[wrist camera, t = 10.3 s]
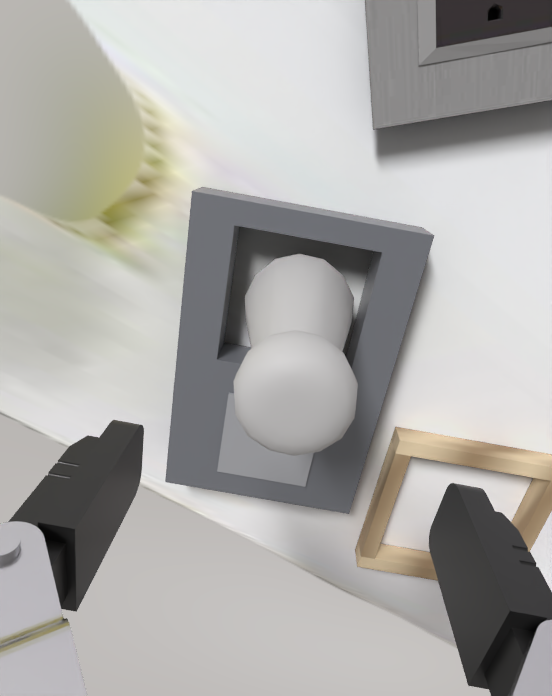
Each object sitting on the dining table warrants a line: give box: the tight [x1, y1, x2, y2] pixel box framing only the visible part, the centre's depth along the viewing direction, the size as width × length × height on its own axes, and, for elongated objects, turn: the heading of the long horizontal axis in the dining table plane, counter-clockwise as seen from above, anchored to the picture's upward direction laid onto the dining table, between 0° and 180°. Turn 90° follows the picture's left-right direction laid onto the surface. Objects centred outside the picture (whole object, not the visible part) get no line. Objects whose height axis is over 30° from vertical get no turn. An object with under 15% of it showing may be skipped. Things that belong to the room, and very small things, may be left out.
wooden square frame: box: [355, 427, 552, 580], centre depth 32 cm, size 11×11×2 cm
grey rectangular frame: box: [165, 187, 434, 514], centre depth 27 cm, size 12×18×3 cm, turn 170°
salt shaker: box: [233, 254, 358, 456], centre depth 21 cm, size 6×6×13 cm
